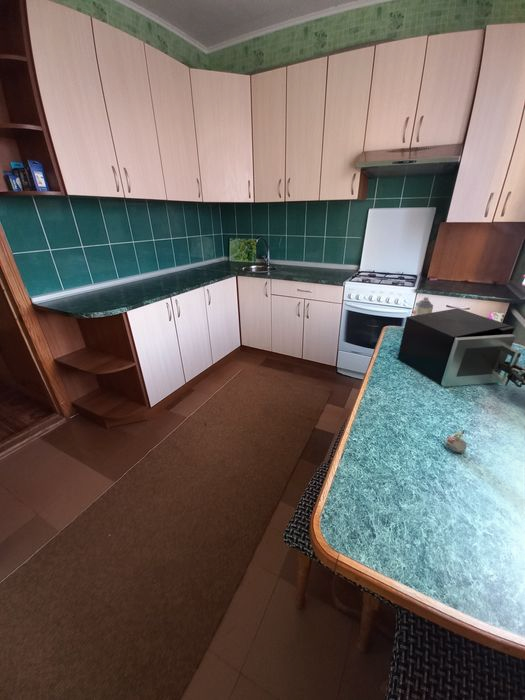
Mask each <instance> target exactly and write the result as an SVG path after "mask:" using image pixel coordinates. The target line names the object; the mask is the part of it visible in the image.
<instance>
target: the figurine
mask: <svg viewBox="0 0 525 700" xmlns="http://www.w3.org/2000/svg"><path fill="white" fill-rule="evenodd" d="M464 433H465V430H464V429H462V430H461V431H460V432H458V431H456V433H454V434H451V435H450V436H448V437H447V438H446V439H445V442H444V443H445V447H446V448H448V449H450V450H451V451H453V452H455V453H458V454H459V453H460V454H464V453H465V452H466V450H467V447H468V445H467V443H466V441H465V440H464V439H462V435H464Z"/></svg>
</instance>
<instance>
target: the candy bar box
mask: <svg viewBox="0 0 525 700" xmlns="http://www.w3.org/2000/svg"><path fill="white" fill-rule="evenodd" d="M505 314H506V313H503V312H497V311H496V312H495V311H489V314H488V315H487V317H486V318H489V319H492V320H495V321H498V322H501V323H503V321H504V317H505Z"/></svg>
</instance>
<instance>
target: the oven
mask: <svg viewBox="0 0 525 700" xmlns="http://www.w3.org/2000/svg"><path fill="white" fill-rule="evenodd" d="M515 329H516V328H515V326H511V325H510V324H507V323H504V322H502V323H501V322H498V321H495V320H492V319H489V318H487V317H486V316H482V315H480V314H476V313H473V312H470V311H468V310H464V309H462V308H450V309H446V310H439V311H432V313H427V314H421V315H415V316H413V315H410V316H406V317H405V322H404V327H403V331H402V335H401V339H400V344H399V350H398V354H397V360H398V361H401V362H402V363H404V364H405V365H407V366H408V367H410V368H411V369H413V370H414V371H417V372H418V373H420V374H422V375H423V376H425V377H426V378H428V379H429V380H431V381H433V382H435V383H436V384H438V385H441V382H442V378H443V375H444V372H445V369H446V365H447V362H448V359H449V356H450V353H451V349H452V346H453V343H454V340H455V338H461V337H477V336H492V335H508V334H512V335H514V331H515Z"/></svg>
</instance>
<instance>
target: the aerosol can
mask: <svg viewBox="0 0 525 700" xmlns="http://www.w3.org/2000/svg"><path fill="white" fill-rule="evenodd" d="M433 308H434V304H432V302H431V301H430V299H429V296H424V297H423V299H421V300H419V301H418V302H416V303H415V306H414V309H413V313H412V316H415V315H421V314H427V313H433Z"/></svg>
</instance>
